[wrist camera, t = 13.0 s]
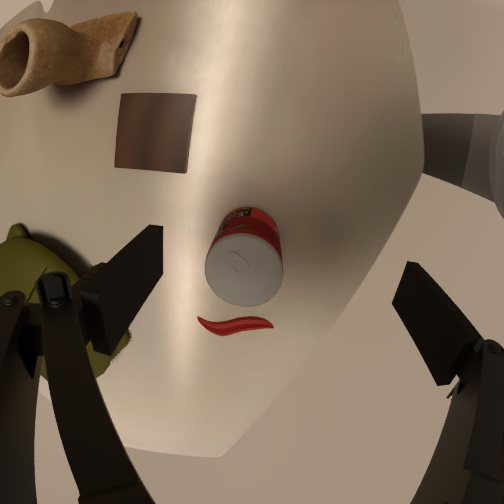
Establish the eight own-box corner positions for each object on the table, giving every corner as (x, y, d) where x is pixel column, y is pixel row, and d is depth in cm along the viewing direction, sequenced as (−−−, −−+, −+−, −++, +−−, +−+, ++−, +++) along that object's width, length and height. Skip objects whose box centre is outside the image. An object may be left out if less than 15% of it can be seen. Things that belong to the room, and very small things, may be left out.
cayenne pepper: (195, 327, 45) (193, 335, 43) (198, 304, 43) (196, 311, 41) (268, 342, 45) (268, 350, 43) (276, 320, 43) (276, 328, 42)
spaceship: (82, 386, 55) (66, 415, 46) (-6, 300, 47) (-29, 322, 38) (154, 317, 44) (133, 357, 35) (28, 191, 36) (-12, 208, 27)
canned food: (244, 193, 36) (235, 219, 26) (291, 232, 38) (301, 271, 28) (207, 236, 38) (188, 276, 28) (253, 272, 40) (250, 320, 30)
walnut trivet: (196, 95, 31) (194, 94, 30) (186, 172, 35) (184, 173, 34) (124, 94, 31) (121, 93, 30) (117, 166, 35) (114, 167, 34)
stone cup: (47, 101, 30) (-25, 105, 17) (60, 32, 26) (-6, 15, 12) (128, 93, 31) (58, 81, 17) (143, 15, 26) (87, -27, 12)
